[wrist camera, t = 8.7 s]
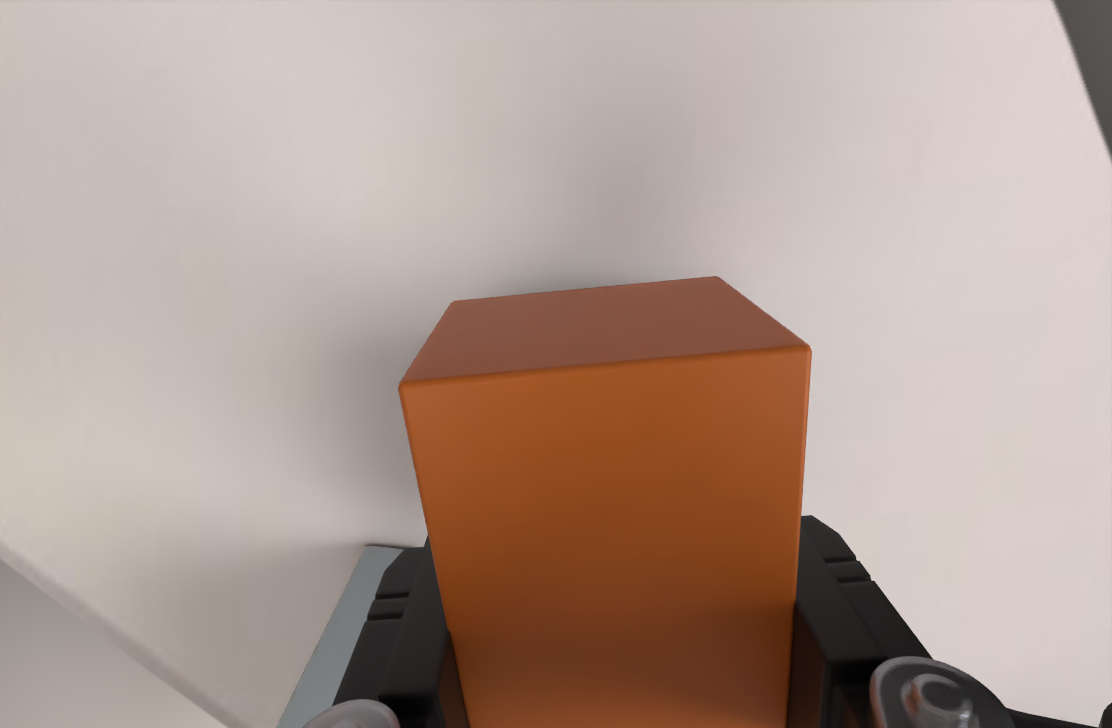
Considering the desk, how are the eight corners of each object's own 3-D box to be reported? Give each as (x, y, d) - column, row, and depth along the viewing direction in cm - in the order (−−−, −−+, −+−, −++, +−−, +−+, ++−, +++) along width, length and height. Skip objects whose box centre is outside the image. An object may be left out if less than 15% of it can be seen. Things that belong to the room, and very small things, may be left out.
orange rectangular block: (450, 299, 9) (394, 384, 6) (719, 274, 9) (816, 345, 6) (514, 701, 13) (502, 904, 9) (717, 685, 12) (779, 884, 9)
